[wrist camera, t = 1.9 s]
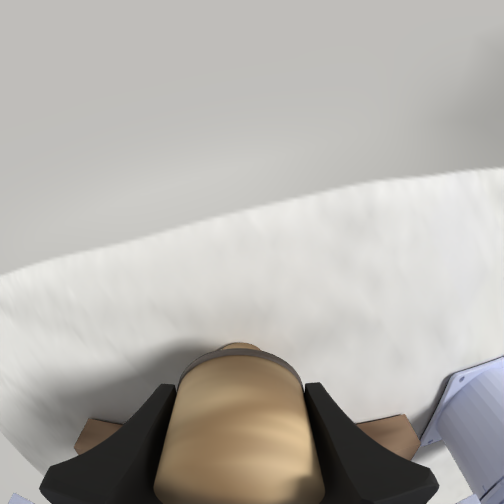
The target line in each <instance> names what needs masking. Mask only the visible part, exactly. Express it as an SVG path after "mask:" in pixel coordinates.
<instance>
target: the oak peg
mask: <svg viewBox="0 0 504 504" xmlns="http://www.w3.org/2000/svg"><path fill="white" fill-rule="evenodd" d="M153 488H154V493H155V495H156V496H157V498H158V499H159V500H160V501H161V502H162V503H163V504H319V503H320V502H321V501H322V499H323V497H324V495H325V487H324V483H323V478H322V473H321V469H320V464H319V460H318V455H317V451H316V446H315V442H314V438H313V433H312V429H311V424H310V420H309V416H308V411H307V407H306V403H305V399H304V389H303V385H302V382H301V379H300V377H299V375H298V374H297V372H296V371H295V370H294V368H293V367H292V366H290V365H289V364H288V363H287V362H285V361H284V360H282V359H281V358H279V357H277V356H275V355H273V354H270V353H267V352H264V351H261V350H260V349H259V348H258V347H256V346H254V345H252V344H248V343H233V344H230V345H228V346H226V347H224V348H223V349H222V350H218V351H215V352H211V353H209V354H206V355H204V356H202V357H200V358H198V359H197V360H195V361H194V362H192V363H191V364H190V365H189V366H188V367H187V368H186V369H185V371H184V372H183V374H182V376H181V378H180V381H179V385H178V389H177V396H176V400H175V404H174V407H173V411H172V415H171V419H170V422H169V426H168V430H167V434H166V438H165V442H164V446H163V450H162V453H161V457H160V461H159V466H158V470H157V474H156V478H155V482H154V487H153Z"/></svg>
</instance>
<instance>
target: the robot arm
mask: <svg viewBox="0 0 504 504" xmlns="http://www.w3.org/2000/svg"><path fill="white" fill-rule="evenodd" d="M176 396H177V393H176V388H175V385H171V384H161V385H160V386H159V387H158V388H157V389H156V390H155V392H154V393H153V394H152V395H151V396H150V398H149V399H148V400H147V401H146V402H145V403H144V404H143V406H142V407H141V408H140V409H139V410H138V411H137V412H136V413H135V414H134V415H133V416H132V417H131V418H130V419H129V420H128V421H127V422H126V423H125V424H124V425H123V426H122V427H121V428H119V429H118V430H117V431H116V432H115V433H114V434H112V435H111V436H110V437H108V438H107V439H106V440H104V441H103V442H101V443H100V444H98V445H97V446H95V447H93V448H92V449H90V450H88V451H87V452H85V453H83V454H81V455H79V456H77V457H74V458H72V459H70V460H67V461H65V462H62V463H59V464H56V465H53V466H50V468H49V469H48V471H47V473H46V475H45V477H44V479H43V481H42V483H41V485H40V488H39V489H40V491H41V493H42V495H43V496H44V497H45V498H46V499H47V500H48V501H49V502H50V503H52V504H163V503H162V502H161V501H160V500H159V499H158V498H157V496H156V495H155V493H154V488H153V487H154V482H155V478H156V474H157V470H158V466H159V461H160V457H161V453H162V450H163V446H164V442H165V438H166V434H167V430H168V426H169V422H170V419H171V415H172V411H173V407H174V404H175V400H176ZM304 399H305V403H306V407H307V411H308V416H309V420H310V424H311V429H312V433H313V438H314V442H315V446H316V451H317V455H318V460H319V464H320V469H321V473H322V478H323V483H324V487H325V495H324V497H323V499H322V501H321V502H320V503H319V504H426V503H427V502H428V501H429V500H430V499H431V498H432V497H433V496H434V495H435V493H436V492H437V491H438V489H439V484H438V482H437V480H436V478H435V476H434V474H433V473H432V471H431V470H430V468H427V467H424V466H422V465H419V464H416V463H414V462H411V461H409V460H407V459H405V458H403V457H401V456H399V455H397V454H395V453H393V452H392V451H390V450H388V449H387V448H385V447H383V446H382V445H380V444H379V443H378V442H376V441H375V440H373V439H372V438H371V437H370V436H368V435H367V434H366V433H365V432H363V431H362V430H361V429H360V428H359V427H358V426H357V425H356V424H355V423H354V422H353V421H352V420H351V419H350V418H349V417H348V416H347V415H346V414H345V413H344V412H343V411H342V410H341V409H340V407H339V406H338V405H337V404H336V403H335V401H334V400H333V399H332V398H331V396H330V395H329V394H328V393H327V391H326V390H325V388H324V387H323V386H322V384H321V383H320V382H317V383H306V384H305V391H304ZM440 440H443V441H444V443H445V445H446V446H447V448H448V450H449V451H450V453H451V455H452V457H453V458H454V460H455V462H456V463H457V465H458V467H459V469H460V470H461V472H462V474H463V476H464V478H465V479H466V481H467V483H468V485H469V487H470V489H471V490H472V492H473V495H471V496H469V497H467V498H465V499H463V500H461V501H459V502H458V503H456V504H504V357H501V358H499V359H496V360H493V361H491V362H488V363H485V364H482V365H479V366H476V367H473V368H470V369H467V370H464V371H461V372H458V373H455V374H454V375H452V376H451V378H450V380H449V382H448V385H447V387H446V389H445V391H444V394H443V396H442V398H441V400H440V402H439V405H438V407H437V409H436V411H435V413H434V415H433V417H432V419H431V421H430V423H429V425H428V427H427V429H426V430H425V432H424V434H423V436H422V438H421V440H420V442H421V444H420V446H426V445H429V444H432V443H434V442H437V441H440ZM8 504H34V503H33V502H31V501H29V500H27V499H25V498H23V497H22V496H20V495H18V494H16V493H13V495H12V497H11V499H10V501H9V503H8Z"/></svg>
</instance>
